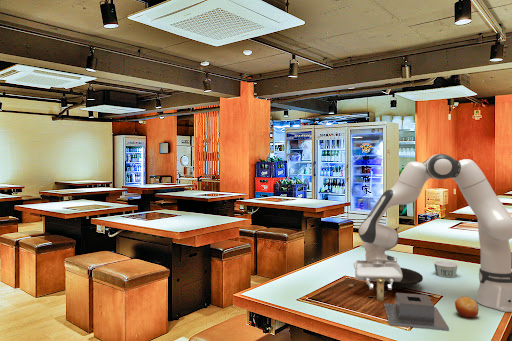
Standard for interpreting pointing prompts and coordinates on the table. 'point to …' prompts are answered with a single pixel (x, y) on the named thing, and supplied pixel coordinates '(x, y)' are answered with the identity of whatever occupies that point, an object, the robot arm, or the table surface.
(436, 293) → the table surface
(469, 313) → the fruit
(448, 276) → the food container
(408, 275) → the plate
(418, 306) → the block
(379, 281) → the pin
